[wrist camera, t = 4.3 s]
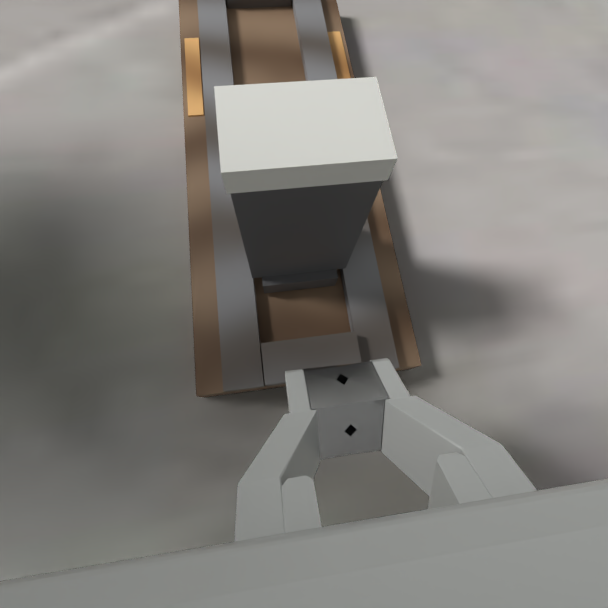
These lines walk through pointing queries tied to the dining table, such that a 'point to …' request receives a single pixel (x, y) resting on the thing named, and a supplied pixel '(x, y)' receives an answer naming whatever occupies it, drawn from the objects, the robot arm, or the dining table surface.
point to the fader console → (224, 226)
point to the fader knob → (302, 173)
